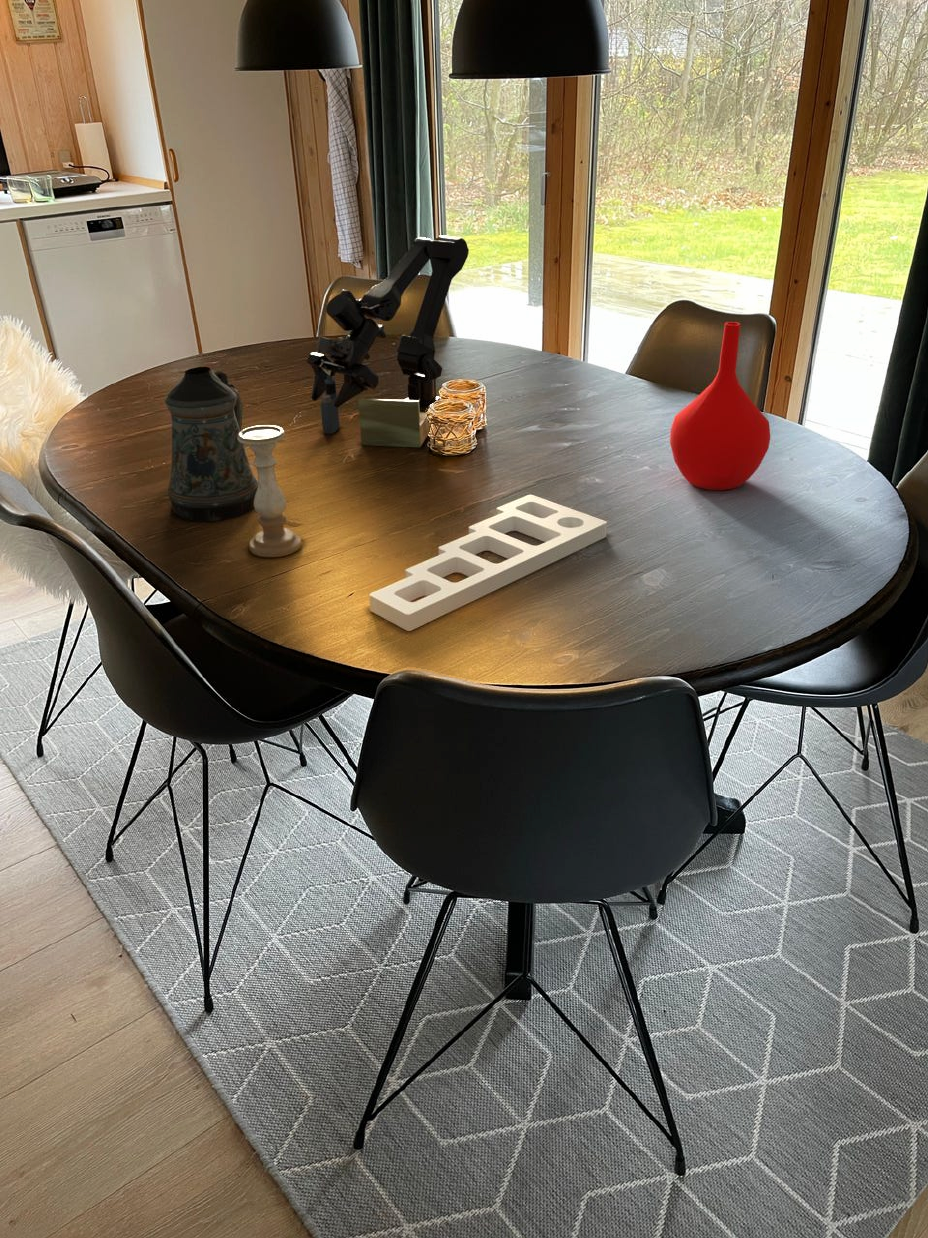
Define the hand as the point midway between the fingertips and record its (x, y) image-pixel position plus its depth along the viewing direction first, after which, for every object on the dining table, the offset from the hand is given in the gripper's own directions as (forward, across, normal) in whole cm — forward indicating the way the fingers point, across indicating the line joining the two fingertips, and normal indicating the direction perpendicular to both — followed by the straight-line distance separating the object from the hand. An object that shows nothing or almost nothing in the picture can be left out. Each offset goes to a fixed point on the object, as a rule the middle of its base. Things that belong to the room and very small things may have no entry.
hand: (324, 403), depth 212 cm
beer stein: (+33, +15, -23) cm, 43 cm away
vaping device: (+4, 0, +6) cm, 7 cm away
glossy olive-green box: (0, +15, +10) cm, 18 cm away
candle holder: (+36, +40, -27) cm, 60 cm away
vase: (-16, +81, +26) cm, 86 cm away
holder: (+24, +70, -14) cm, 75 cm away
